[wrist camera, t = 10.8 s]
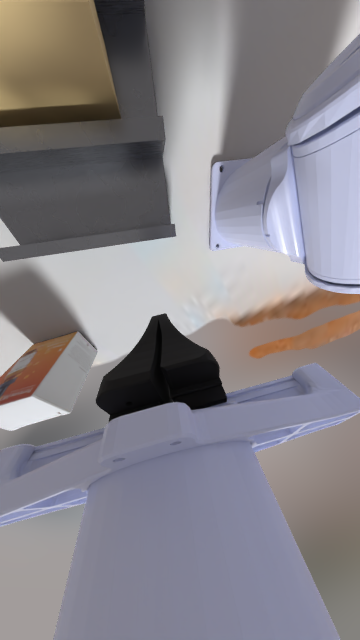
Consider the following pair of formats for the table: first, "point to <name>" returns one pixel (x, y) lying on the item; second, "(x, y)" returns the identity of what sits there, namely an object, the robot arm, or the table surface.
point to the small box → (45, 381)
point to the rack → (91, 160)
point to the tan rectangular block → (53, 64)
